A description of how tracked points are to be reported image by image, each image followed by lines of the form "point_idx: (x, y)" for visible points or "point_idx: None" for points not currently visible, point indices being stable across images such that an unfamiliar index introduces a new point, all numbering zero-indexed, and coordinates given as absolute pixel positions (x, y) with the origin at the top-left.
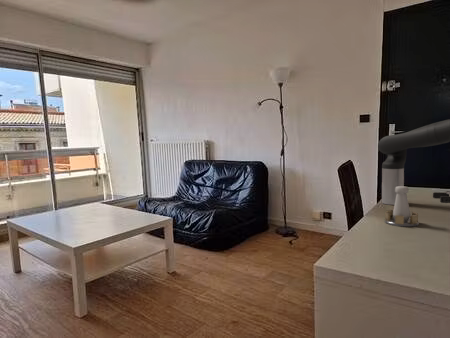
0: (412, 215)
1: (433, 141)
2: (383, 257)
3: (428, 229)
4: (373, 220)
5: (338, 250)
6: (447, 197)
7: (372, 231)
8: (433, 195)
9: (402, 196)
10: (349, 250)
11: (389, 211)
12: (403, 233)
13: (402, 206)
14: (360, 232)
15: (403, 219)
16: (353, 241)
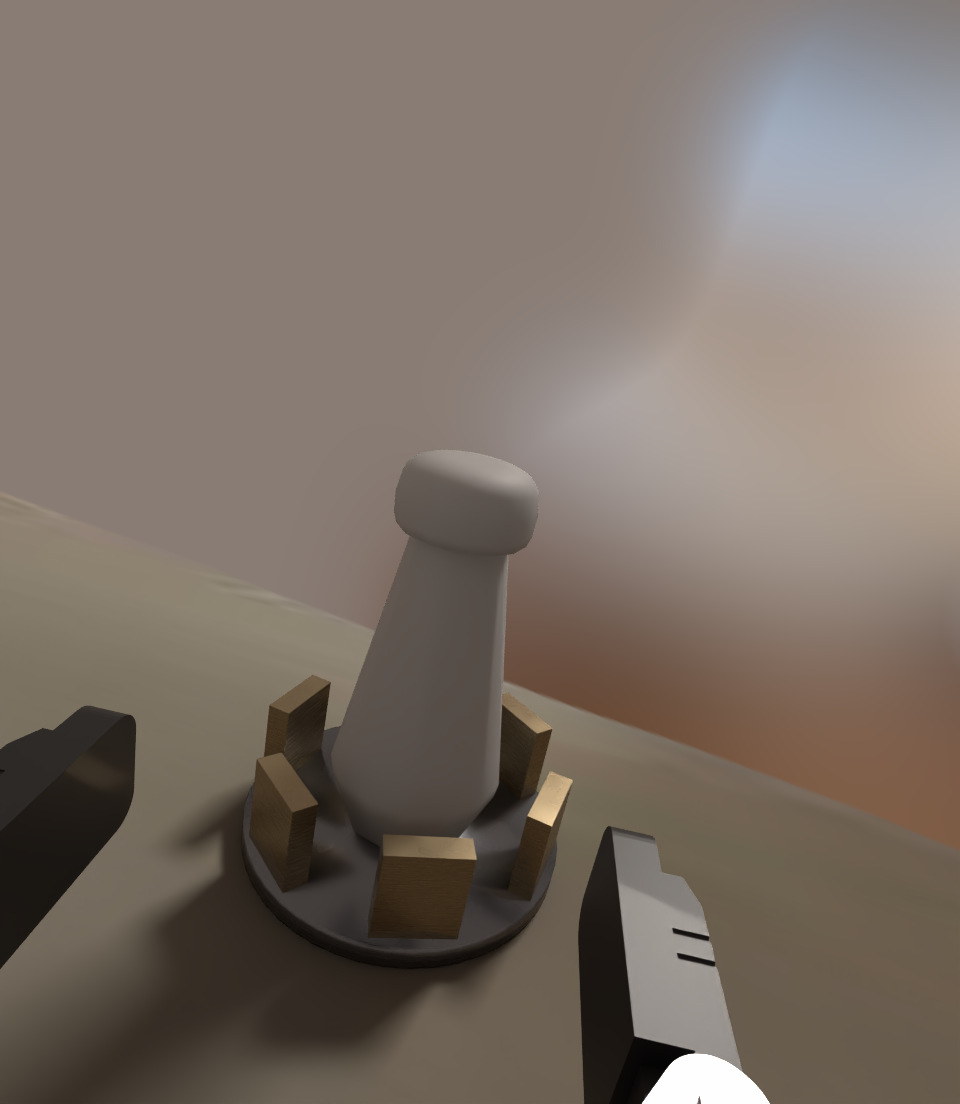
0: (290, 771)
1: None
2: None
3: (93, 951)
4: None
5: None
6: (13, 784)
7: (180, 620)
8: (596, 867)
9: (403, 557)
10: None
11: (503, 710)
12: (59, 718)
13: (368, 653)
14: (177, 584)
15: (268, 733)
16: (31, 530)
